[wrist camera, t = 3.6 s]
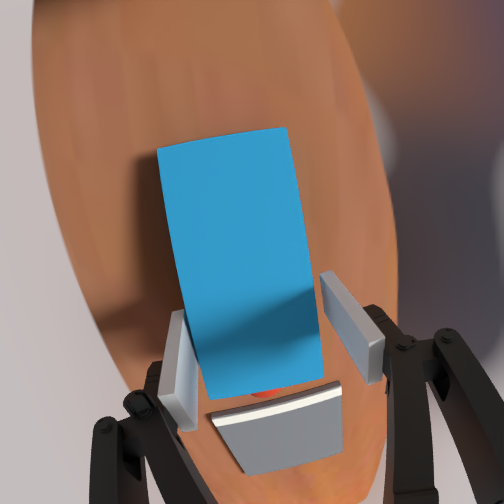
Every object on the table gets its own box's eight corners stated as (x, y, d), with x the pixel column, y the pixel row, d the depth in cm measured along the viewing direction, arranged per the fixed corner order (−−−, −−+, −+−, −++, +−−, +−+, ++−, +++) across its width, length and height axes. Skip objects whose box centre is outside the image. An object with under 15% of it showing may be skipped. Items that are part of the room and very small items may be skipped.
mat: (211, 412, 25) (211, 418, 24) (338, 380, 25) (341, 385, 24) (246, 472, 30) (247, 477, 29) (341, 448, 30) (342, 452, 30)
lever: (177, 170, 22) (223, 390, 24) (156, 148, 15) (223, 443, 17) (268, 154, 22) (304, 375, 24) (285, 127, 15) (327, 422, 17)
